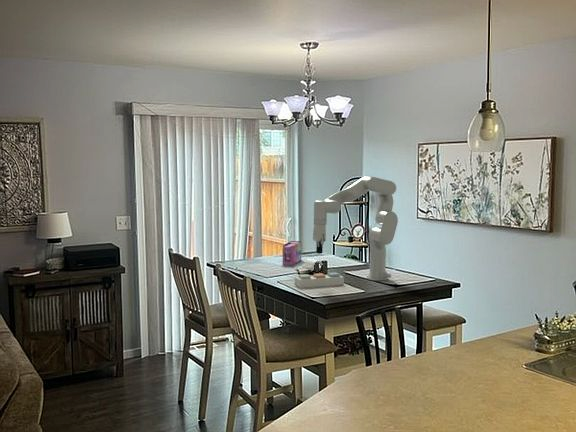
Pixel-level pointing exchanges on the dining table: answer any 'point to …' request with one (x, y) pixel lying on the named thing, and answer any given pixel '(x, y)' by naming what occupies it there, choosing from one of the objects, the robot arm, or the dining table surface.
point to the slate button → (334, 274)
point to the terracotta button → (319, 275)
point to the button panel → (319, 281)
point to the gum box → (291, 252)
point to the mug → (311, 264)
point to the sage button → (305, 276)
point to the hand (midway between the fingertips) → (319, 253)
